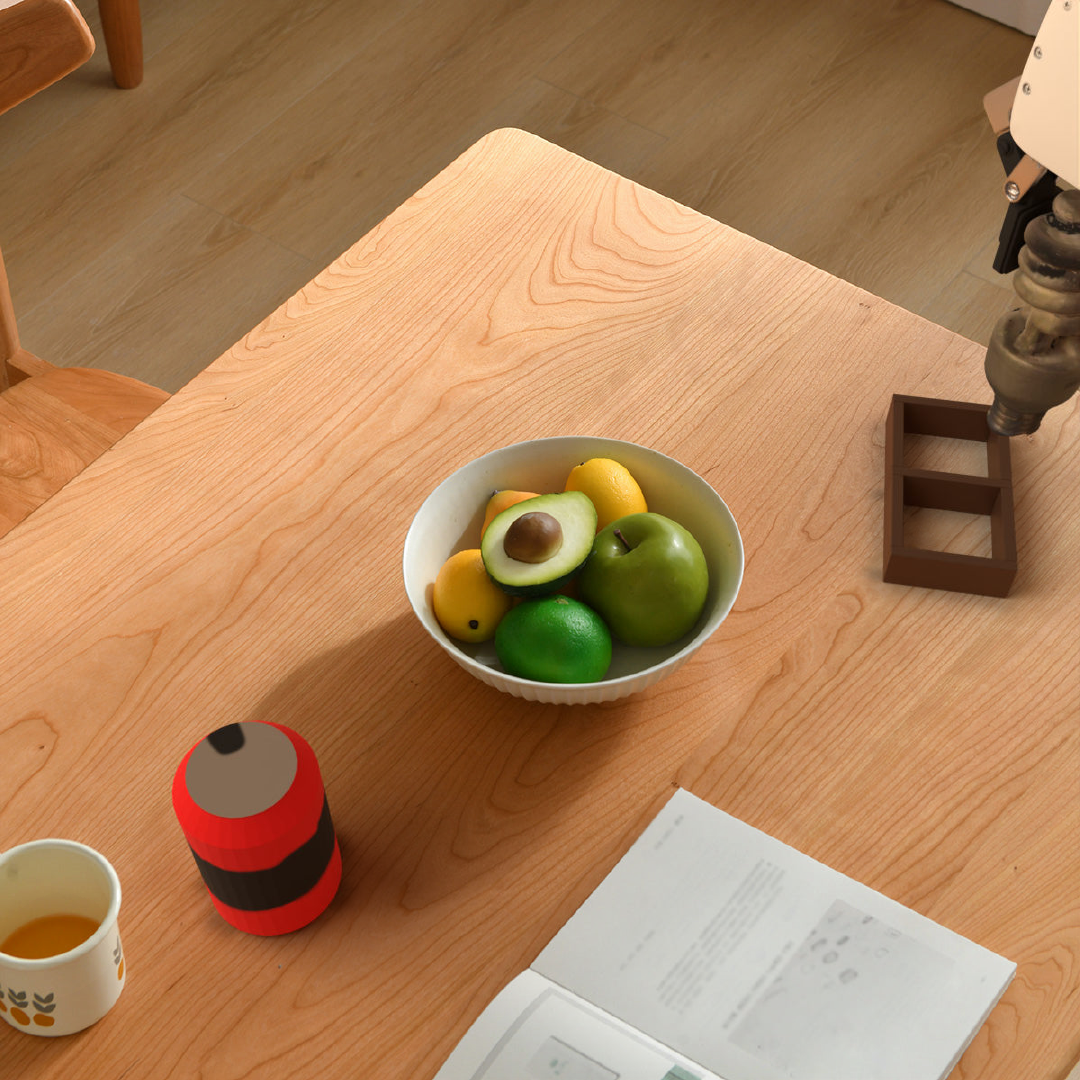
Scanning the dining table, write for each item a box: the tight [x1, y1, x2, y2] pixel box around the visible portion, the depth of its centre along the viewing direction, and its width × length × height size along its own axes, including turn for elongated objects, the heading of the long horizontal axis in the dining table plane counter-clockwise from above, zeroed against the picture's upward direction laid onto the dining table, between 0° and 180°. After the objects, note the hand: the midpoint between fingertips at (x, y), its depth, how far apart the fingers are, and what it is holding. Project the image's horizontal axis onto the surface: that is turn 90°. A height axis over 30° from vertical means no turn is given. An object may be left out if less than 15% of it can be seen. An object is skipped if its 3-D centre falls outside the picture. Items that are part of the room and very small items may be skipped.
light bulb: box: [983, 188, 1080, 438], centre depth 70 cm, size 6×6×15 cm
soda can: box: [171, 719, 343, 937], centre depth 73 cm, size 8×8×12 cm
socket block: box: [882, 393, 1019, 599], centre depth 95 cm, size 16×8×3 cm, turn 170°
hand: (1063, 293), depth 68 cm, fingers closed on light bulb, 5 cm apart
